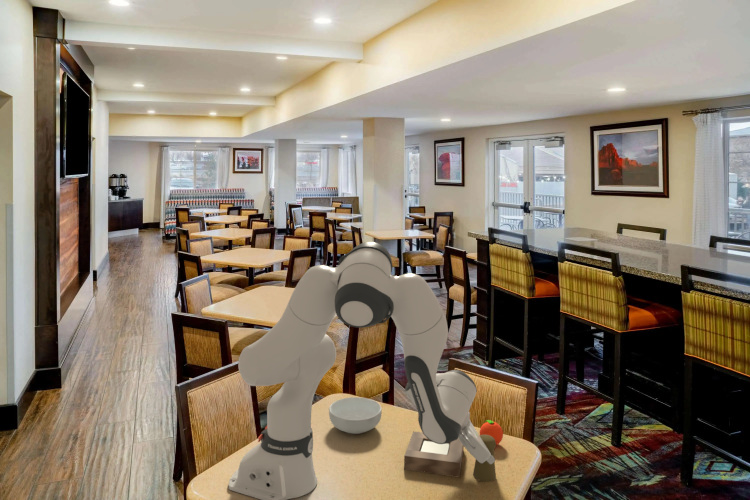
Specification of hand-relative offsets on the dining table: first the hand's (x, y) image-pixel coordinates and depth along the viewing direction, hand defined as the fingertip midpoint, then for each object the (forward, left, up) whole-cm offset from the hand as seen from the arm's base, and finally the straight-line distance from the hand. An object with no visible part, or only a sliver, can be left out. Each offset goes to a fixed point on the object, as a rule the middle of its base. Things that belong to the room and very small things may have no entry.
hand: (487, 453), depth 145 cm
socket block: (-15, +5, -6) cm, 17 cm away
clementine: (0, +19, -7) cm, 20 cm away
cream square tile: (-15, +5, -4) cm, 16 cm away
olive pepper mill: (-1, 0, -7) cm, 7 cm away
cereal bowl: (-42, +18, -7) cm, 46 cm away
